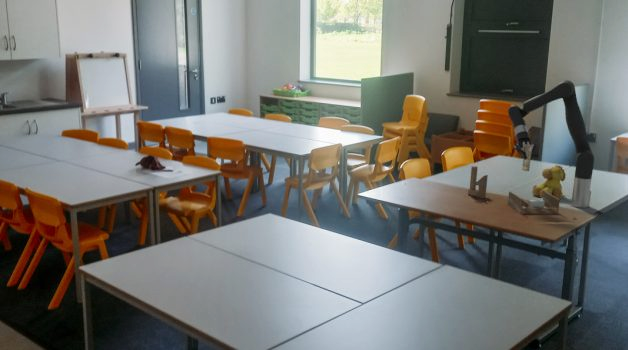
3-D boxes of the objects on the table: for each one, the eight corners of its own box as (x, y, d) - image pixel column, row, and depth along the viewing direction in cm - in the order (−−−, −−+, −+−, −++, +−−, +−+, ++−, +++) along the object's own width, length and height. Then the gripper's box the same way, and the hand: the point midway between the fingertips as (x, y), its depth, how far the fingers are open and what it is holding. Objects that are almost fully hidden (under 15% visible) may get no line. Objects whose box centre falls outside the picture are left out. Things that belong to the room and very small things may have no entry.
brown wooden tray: (543, 206, 385) (545, 191, 383) (557, 215, 368) (559, 199, 366) (507, 206, 383) (509, 191, 381) (520, 215, 366) (521, 199, 363)
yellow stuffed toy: (525, 192, 418) (528, 163, 413) (556, 191, 425) (560, 161, 420) (545, 201, 399) (548, 170, 394) (577, 199, 406) (581, 168, 401)
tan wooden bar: (526, 169, 386) (528, 144, 383) (529, 171, 383) (531, 145, 379) (522, 169, 386) (524, 144, 383) (525, 171, 382) (527, 145, 379)
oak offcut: (541, 210, 373) (541, 205, 372) (543, 211, 370) (544, 206, 370) (527, 210, 372) (528, 205, 372) (529, 211, 369) (530, 206, 369)
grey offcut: (541, 205, 372) (542, 199, 372) (544, 206, 370) (544, 201, 369) (528, 205, 372) (528, 199, 371) (530, 206, 369) (530, 201, 368)
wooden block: (482, 198, 400) (484, 169, 396) (467, 194, 408) (470, 166, 404) (485, 197, 402) (488, 168, 398) (471, 193, 410) (473, 165, 406)
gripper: (512, 130, 386) (519, 155, 377) (535, 130, 387) (542, 155, 378) (508, 138, 392) (514, 162, 383) (530, 138, 394) (537, 162, 385)
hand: (528, 158), depth 381 cm, fingers closed on tan wooden bar, 2 cm apart
